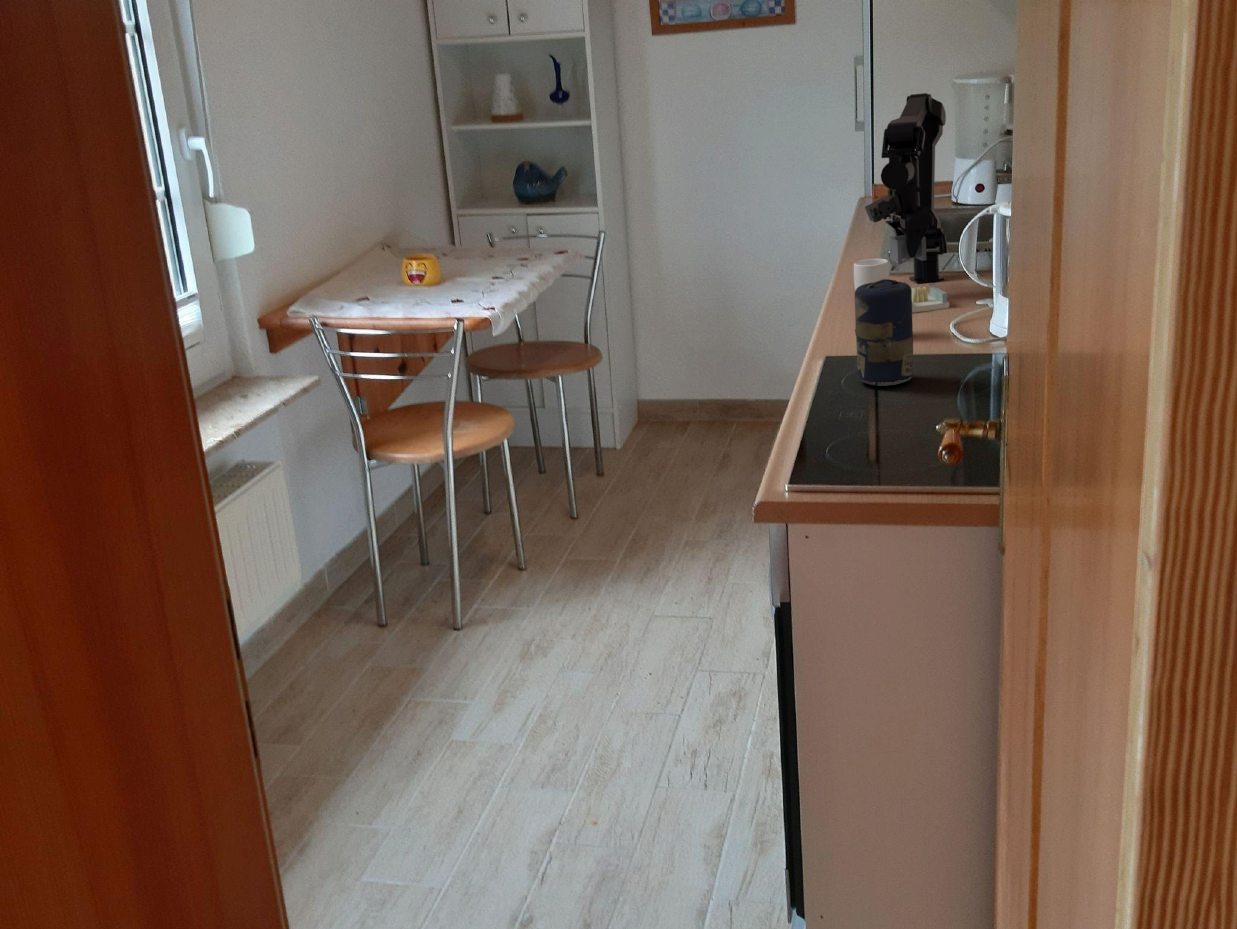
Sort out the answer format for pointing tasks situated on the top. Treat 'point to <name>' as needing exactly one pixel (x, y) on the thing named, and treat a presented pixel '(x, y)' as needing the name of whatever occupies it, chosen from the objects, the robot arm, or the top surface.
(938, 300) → the board
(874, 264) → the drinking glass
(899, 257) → the grey block
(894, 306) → the canister
